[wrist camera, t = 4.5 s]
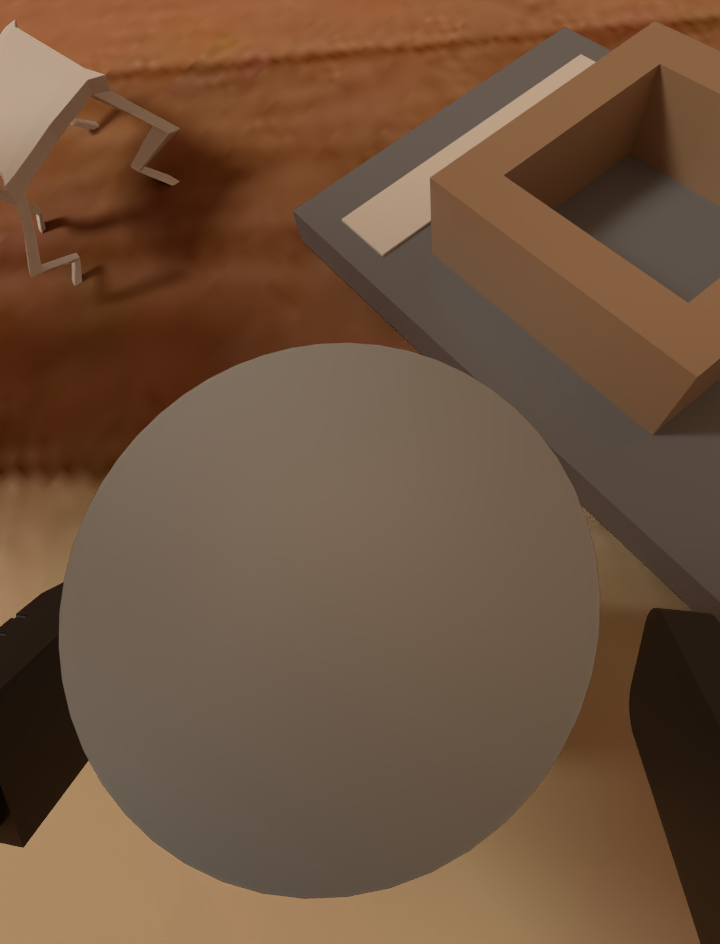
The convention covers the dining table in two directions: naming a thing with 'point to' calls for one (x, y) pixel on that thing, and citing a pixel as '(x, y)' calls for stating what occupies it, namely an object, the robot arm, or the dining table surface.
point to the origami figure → (53, 125)
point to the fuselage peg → (329, 620)
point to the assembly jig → (568, 272)
